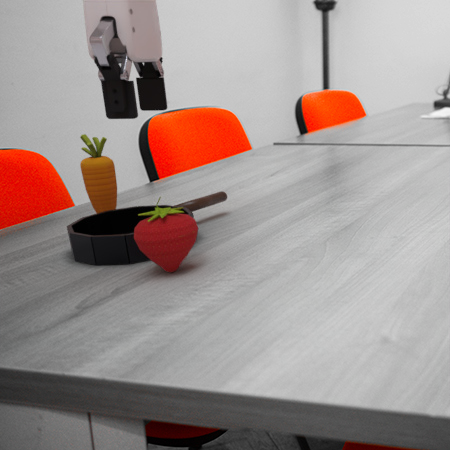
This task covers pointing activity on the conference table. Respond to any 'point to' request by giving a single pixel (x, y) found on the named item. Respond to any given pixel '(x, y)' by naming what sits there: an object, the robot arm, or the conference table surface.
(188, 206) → the pan
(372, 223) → the conference table surface
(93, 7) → the robot arm
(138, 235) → the strawberry
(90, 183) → the carrot
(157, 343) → the conference table surface
